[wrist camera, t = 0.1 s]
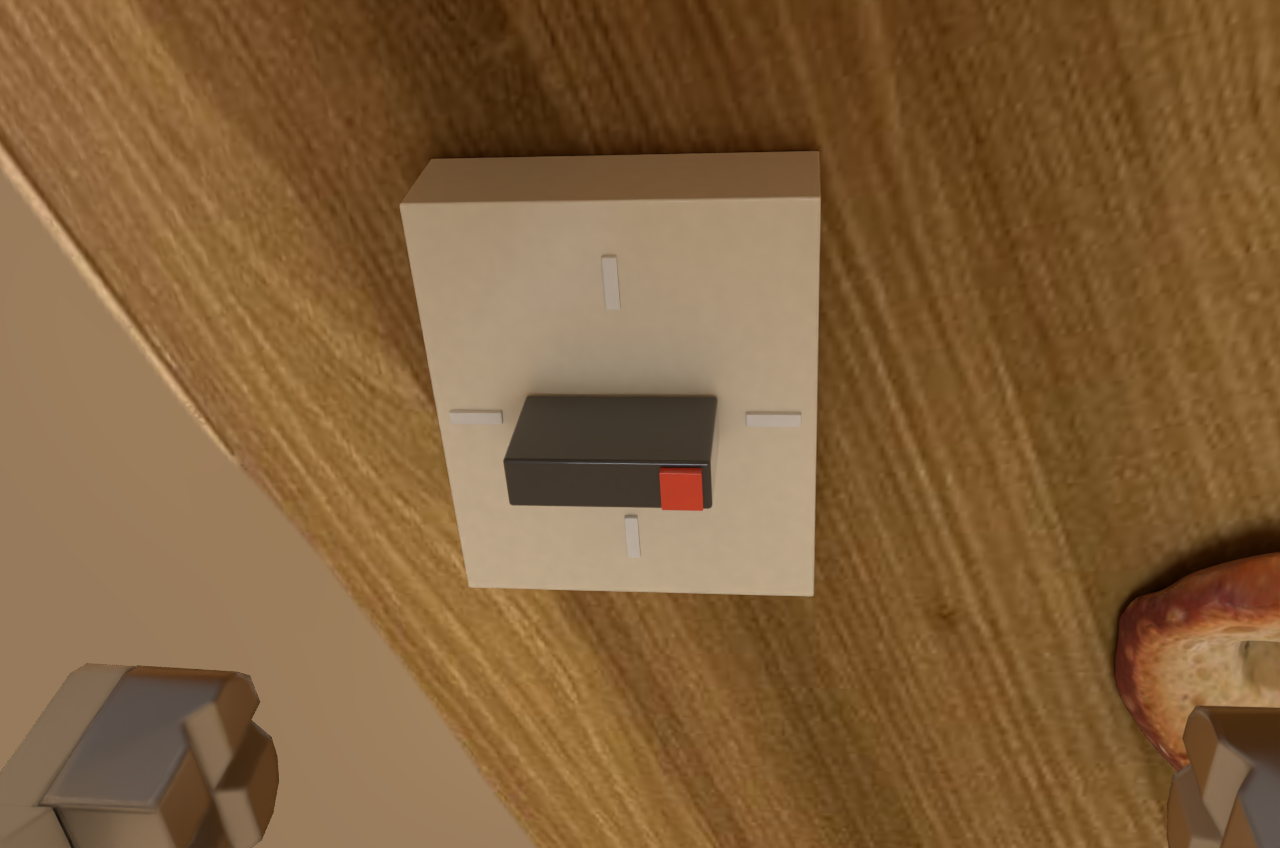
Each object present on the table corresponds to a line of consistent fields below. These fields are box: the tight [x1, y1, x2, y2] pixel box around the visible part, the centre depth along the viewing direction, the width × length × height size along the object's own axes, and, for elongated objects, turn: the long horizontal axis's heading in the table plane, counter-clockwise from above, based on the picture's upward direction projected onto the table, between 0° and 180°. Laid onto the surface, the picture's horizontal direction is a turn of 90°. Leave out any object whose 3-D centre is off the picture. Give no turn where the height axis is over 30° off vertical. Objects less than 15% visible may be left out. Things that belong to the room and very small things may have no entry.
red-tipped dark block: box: [503, 396, 719, 511], centre depth 30 cm, size 5×1×3 cm, turn 94°
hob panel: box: [399, 151, 821, 596], centre depth 33 cm, size 12×10×3 cm
